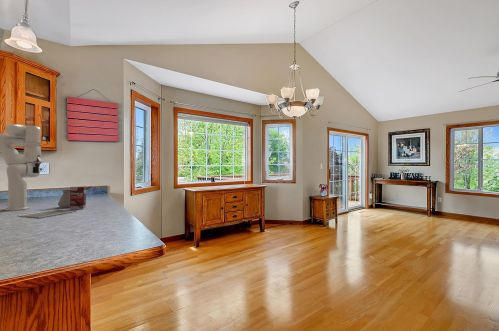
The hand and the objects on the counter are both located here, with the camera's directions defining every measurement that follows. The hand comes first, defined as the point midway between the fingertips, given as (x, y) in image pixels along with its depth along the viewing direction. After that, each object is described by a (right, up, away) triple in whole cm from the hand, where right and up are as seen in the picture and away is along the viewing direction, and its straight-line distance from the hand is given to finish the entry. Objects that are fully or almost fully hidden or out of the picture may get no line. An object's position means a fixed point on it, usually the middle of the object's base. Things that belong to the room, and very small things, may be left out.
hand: (32, 172), depth 159 cm
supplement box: (+19, -27, +15) cm, 36 cm away
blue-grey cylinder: (0, -2, 0) cm, 2 cm away
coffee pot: (+10, -27, +25) cm, 38 cm away
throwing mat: (+14, -26, -4) cm, 30 cm away
